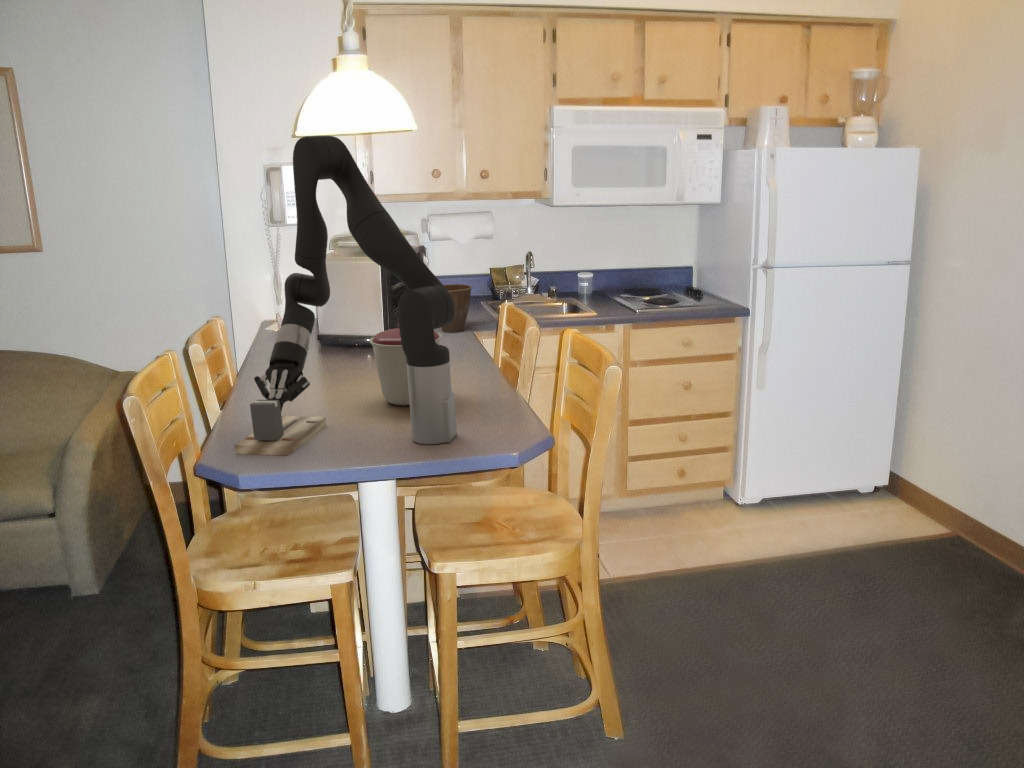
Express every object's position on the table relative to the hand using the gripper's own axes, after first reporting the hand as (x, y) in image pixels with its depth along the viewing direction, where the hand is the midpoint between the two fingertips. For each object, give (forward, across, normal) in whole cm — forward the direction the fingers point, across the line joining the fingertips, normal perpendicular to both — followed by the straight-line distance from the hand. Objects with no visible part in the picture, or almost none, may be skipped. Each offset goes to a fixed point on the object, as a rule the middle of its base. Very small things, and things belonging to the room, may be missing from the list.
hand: (272, 416), depth 169 cm
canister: (-20, +20, +29) cm, 41 cm away
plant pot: (-81, +9, +92) cm, 123 cm away
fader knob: (+4, 0, +1) cm, 5 cm away
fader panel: (+2, 0, +7) cm, 7 cm away
